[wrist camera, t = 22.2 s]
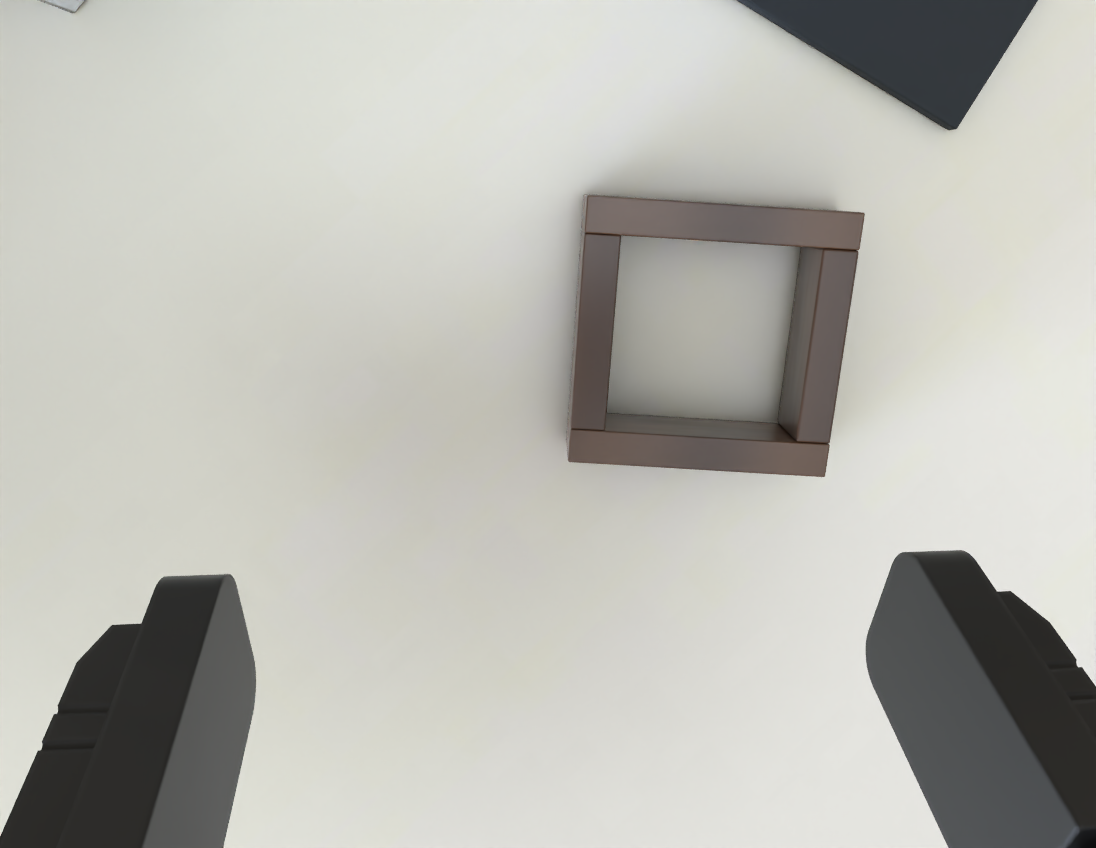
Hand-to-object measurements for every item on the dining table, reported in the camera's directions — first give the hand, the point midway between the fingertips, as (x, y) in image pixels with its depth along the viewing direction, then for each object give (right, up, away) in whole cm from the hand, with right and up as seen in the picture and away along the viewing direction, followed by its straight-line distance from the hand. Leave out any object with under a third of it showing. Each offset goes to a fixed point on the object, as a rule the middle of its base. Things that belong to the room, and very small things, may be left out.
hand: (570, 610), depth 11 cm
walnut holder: (+5, +6, +21) cm, 23 cm away
